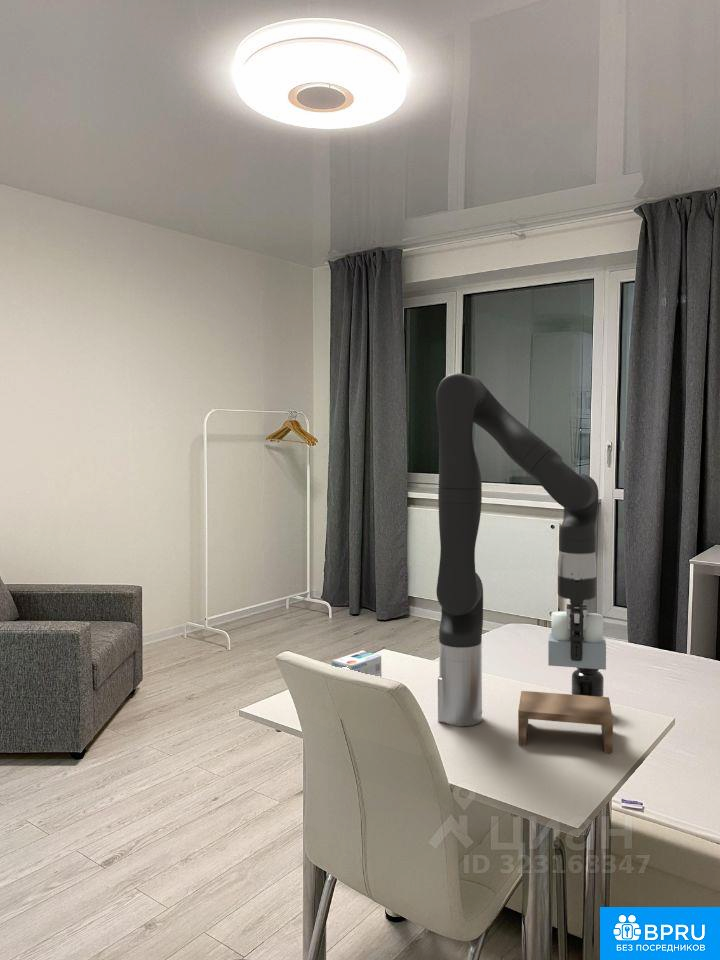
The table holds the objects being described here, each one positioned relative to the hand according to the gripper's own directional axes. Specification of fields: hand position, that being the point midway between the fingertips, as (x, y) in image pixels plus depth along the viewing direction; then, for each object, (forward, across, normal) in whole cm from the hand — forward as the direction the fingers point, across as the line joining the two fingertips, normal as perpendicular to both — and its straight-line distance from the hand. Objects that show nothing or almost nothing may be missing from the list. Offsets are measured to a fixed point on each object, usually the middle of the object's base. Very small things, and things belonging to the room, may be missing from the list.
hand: (576, 655), depth 149 cm
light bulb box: (+18, -10, -49) cm, 53 cm away
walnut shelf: (+17, -1, -2) cm, 18 cm away
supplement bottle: (+18, -16, +2) cm, 24 cm away
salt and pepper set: (+2, 0, 0) cm, 2 cm away
